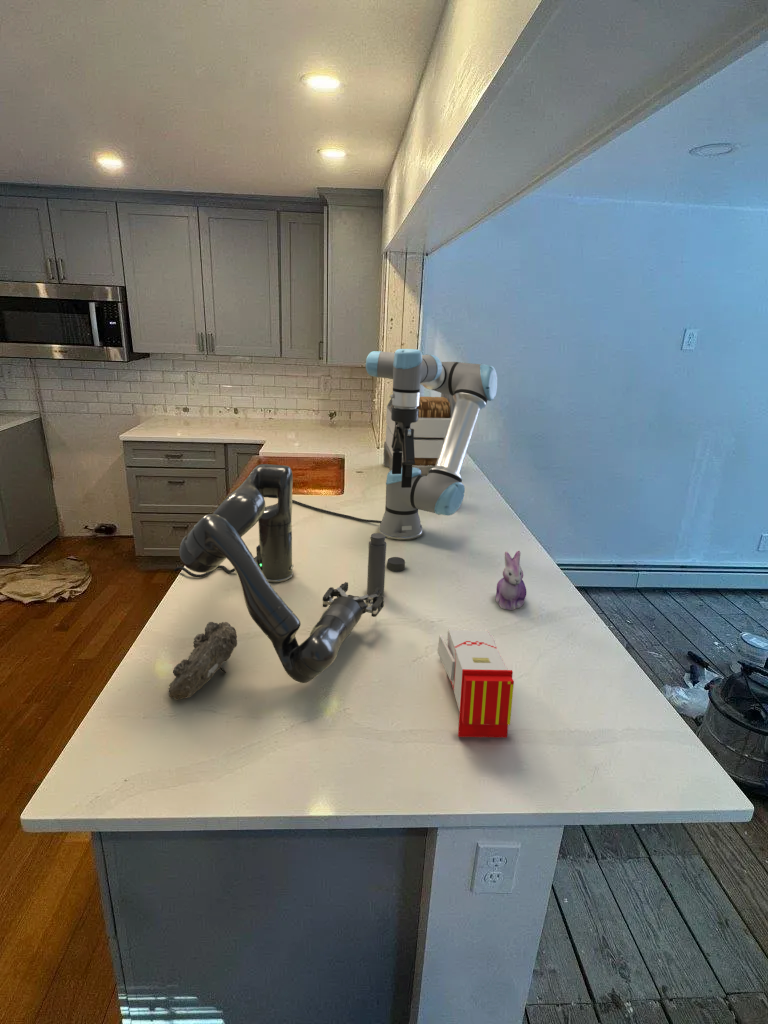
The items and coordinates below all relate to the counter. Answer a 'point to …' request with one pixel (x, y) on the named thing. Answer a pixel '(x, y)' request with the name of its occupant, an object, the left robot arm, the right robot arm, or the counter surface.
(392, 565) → the lid
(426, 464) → the white slatted crate
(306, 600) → the counter surface
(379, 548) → the jar
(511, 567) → the figurine
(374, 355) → the right robot arm
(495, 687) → the toy
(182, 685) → the fossil
